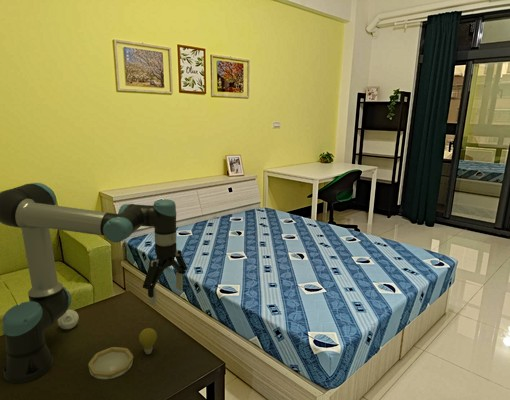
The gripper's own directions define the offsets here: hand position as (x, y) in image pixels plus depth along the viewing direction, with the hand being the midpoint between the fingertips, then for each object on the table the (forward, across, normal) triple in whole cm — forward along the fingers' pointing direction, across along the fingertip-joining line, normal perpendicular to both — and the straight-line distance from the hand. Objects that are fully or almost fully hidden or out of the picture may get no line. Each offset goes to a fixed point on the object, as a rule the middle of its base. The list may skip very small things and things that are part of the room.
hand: (166, 296), depth 132 cm
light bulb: (+25, -3, +7) cm, 26 cm away
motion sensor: (+25, -11, +47) cm, 54 cm away
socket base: (+25, -16, +13) cm, 32 cm away
